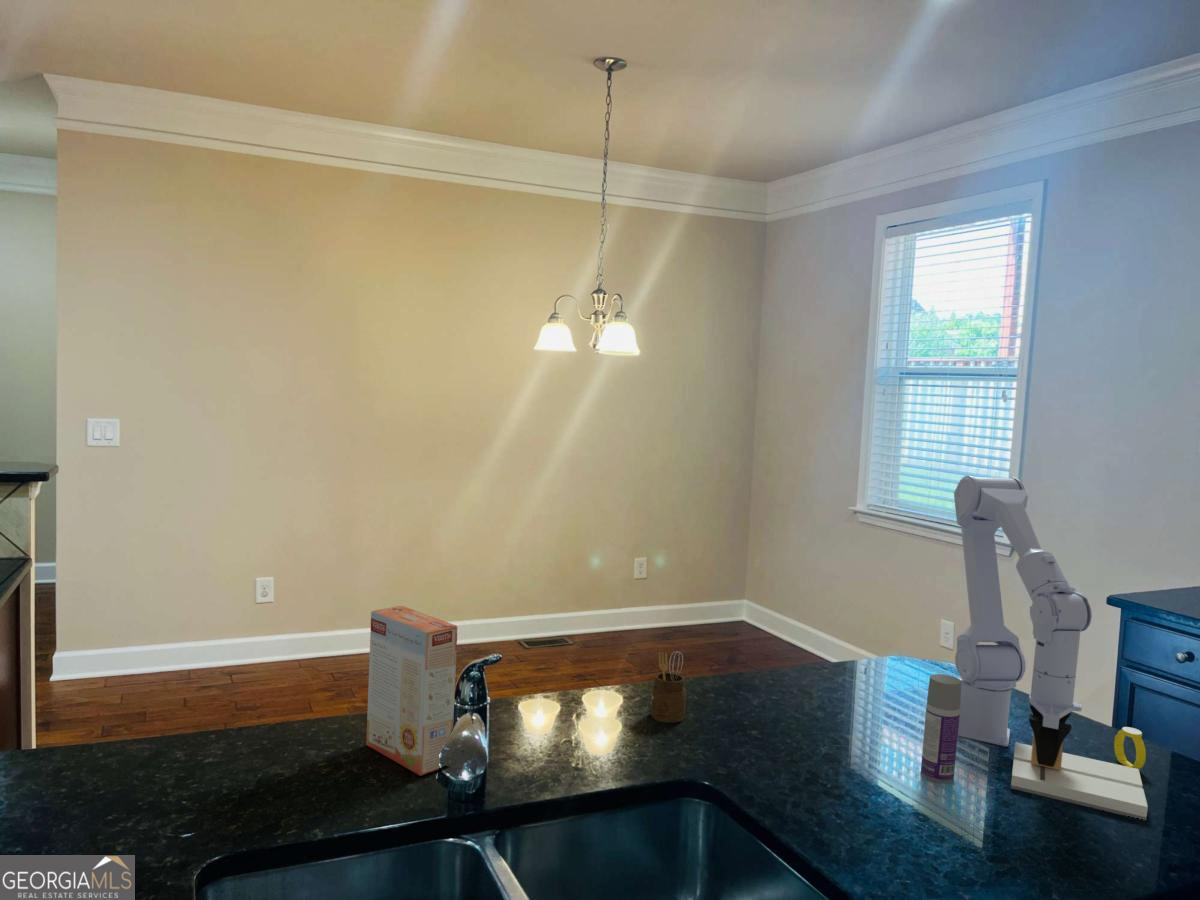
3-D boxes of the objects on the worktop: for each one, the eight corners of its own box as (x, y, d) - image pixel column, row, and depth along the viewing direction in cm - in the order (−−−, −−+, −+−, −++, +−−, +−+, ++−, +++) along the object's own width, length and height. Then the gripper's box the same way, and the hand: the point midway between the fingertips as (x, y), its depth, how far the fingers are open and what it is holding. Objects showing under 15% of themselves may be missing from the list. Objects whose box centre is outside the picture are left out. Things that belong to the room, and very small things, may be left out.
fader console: (1010, 788, 127) (1012, 774, 127) (1014, 754, 139) (1015, 741, 139) (1146, 820, 119) (1147, 806, 119) (1137, 781, 131) (1138, 768, 131)
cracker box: (454, 766, 124) (460, 624, 123) (419, 778, 120) (424, 631, 118) (398, 735, 134) (403, 603, 132) (364, 745, 129) (369, 609, 128)
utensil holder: (690, 716, 148) (695, 648, 147) (673, 727, 143) (678, 656, 142) (660, 707, 151) (664, 640, 150) (642, 718, 146) (646, 649, 145)
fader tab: (1029, 773, 131) (1033, 731, 130) (1030, 766, 133) (1034, 725, 133) (1059, 780, 129) (1063, 737, 128) (1059, 772, 131) (1063, 731, 131)
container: (952, 772, 131) (961, 676, 130) (954, 785, 127) (963, 686, 125) (920, 766, 133) (928, 671, 131) (920, 779, 128) (929, 681, 127)
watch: (1147, 776, 135) (1153, 740, 134) (1130, 775, 134) (1135, 739, 134) (1124, 756, 140) (1129, 722, 140) (1107, 755, 140) (1112, 721, 140)
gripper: (1086, 691, 121) (1076, 784, 123) (1083, 664, 134) (1074, 748, 135) (1030, 680, 125) (1022, 771, 126) (1032, 655, 138) (1024, 737, 139)
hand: (1045, 758), depth 131 cm, fingers open, 4 cm apart
